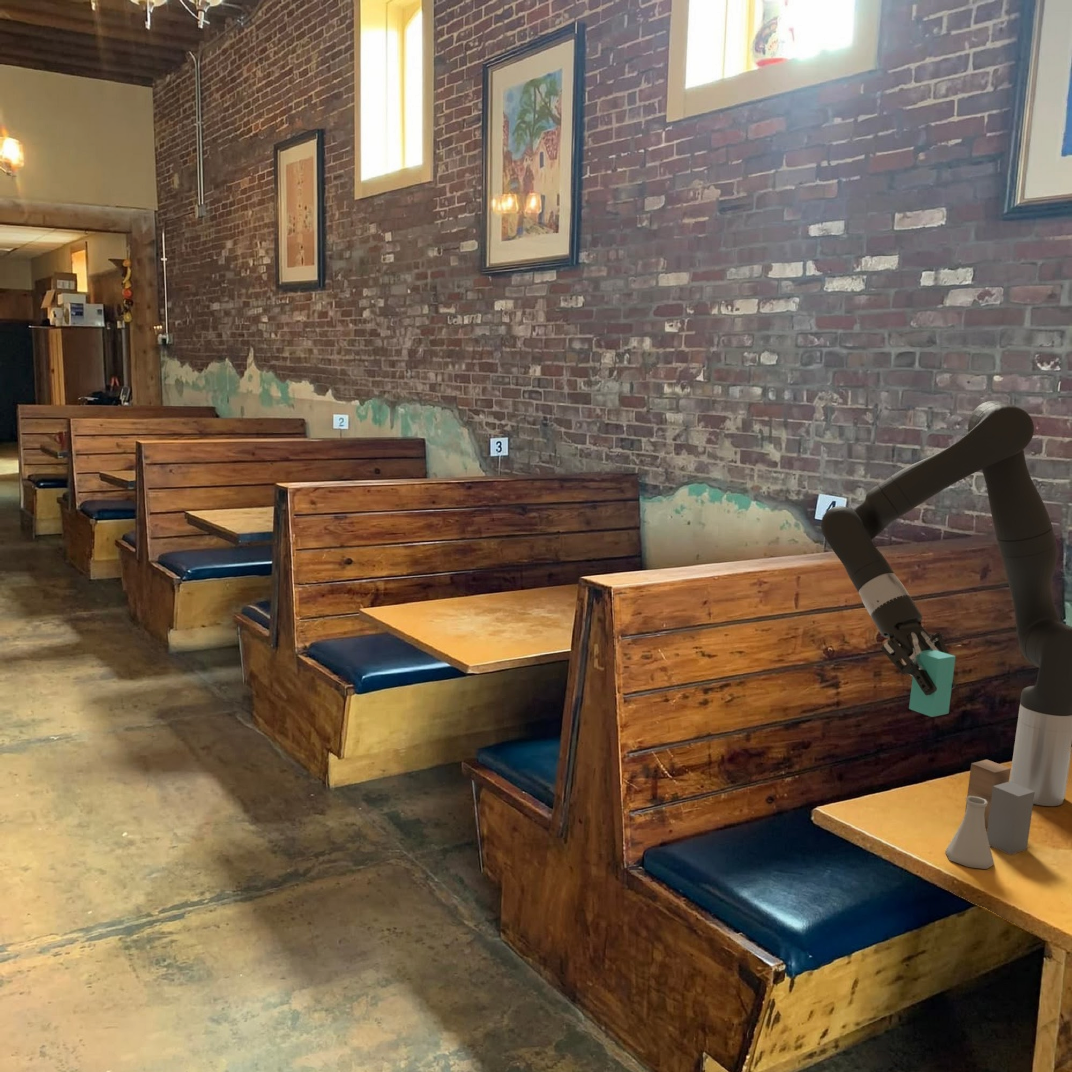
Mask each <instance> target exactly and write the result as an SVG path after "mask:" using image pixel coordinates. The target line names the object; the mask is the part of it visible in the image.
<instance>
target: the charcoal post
mask: <svg viewBox="0 0 1072 1072" xmlns="http://www.w3.org/2000/svg"><path fill="white" fill-rule="evenodd" d="M1034 794H1035V791H1032V790H1030V789H1027V788H1024V787H1022V786H1019V785H1017V784H1014V783H1012V782H1010V781H1009V782H1006V783H1002V784H999V785H995V786H993V790H992V798H991V805H990V813H989V821H988V828H987V827H986V828H987V829H986V832H987V837H988V841H989V845H990V847H993V848H994V849H997V850H999V851H1001V852H1003V853H1005V854H1008V855H1010V856H1011V855H1012V856H1013V855H1014V854H1017V853H1020V852H1023V851H1026V850H1028V845H1029V844H1028V843H1029V836H1030V831H1031V822H1032V815H1033V808H1034V804H1033V801H1034Z"/></svg>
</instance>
